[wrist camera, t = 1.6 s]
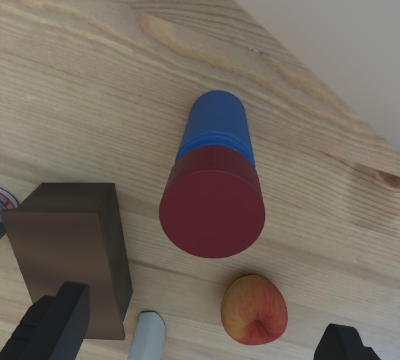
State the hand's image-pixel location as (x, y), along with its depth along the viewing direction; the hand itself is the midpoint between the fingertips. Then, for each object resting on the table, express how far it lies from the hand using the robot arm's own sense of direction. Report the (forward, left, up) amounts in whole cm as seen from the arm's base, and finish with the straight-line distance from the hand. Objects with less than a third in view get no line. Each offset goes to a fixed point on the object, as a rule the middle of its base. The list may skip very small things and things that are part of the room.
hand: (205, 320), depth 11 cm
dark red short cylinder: (0, 0, -9) cm, 9 cm away
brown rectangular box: (+15, -15, -23) cm, 31 cm away
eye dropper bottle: (+29, -9, -23) cm, 38 cm away
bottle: (0, 0, -23) cm, 23 cm away
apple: (+21, +4, -23) cm, 31 cm away
